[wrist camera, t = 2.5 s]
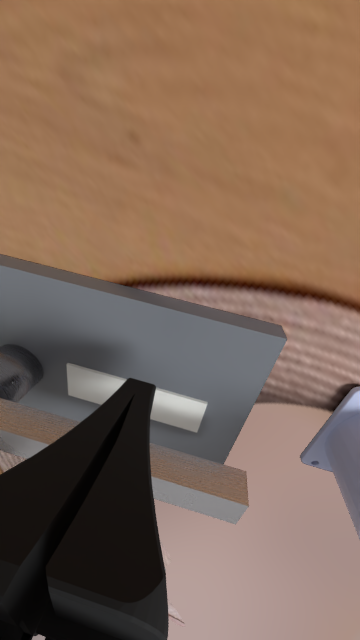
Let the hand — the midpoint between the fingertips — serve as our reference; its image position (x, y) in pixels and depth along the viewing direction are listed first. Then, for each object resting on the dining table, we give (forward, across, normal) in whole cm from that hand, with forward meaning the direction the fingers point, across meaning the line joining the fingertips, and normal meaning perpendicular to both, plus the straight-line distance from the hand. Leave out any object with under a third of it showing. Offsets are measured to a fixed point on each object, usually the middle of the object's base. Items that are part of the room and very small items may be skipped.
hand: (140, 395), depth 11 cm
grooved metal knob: (+5, +10, +4) cm, 12 cm away
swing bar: (0, +2, +4) cm, 5 cm away
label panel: (+5, +3, +4) cm, 7 cm away
